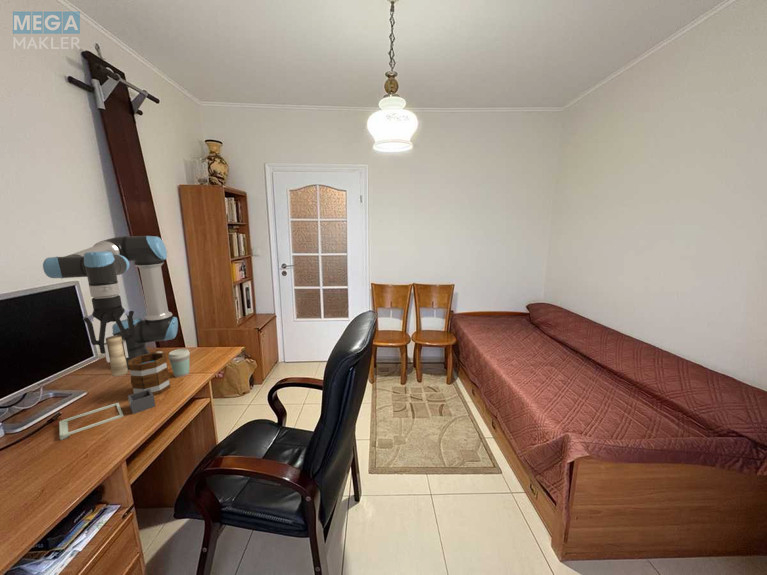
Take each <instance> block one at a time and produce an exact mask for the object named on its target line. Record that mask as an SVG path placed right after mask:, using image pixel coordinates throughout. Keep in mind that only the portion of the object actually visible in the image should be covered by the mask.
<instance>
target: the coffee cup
mask: <svg viewBox="0 0 767 575" xmlns="http://www.w3.org/2000/svg"><path fill="white" fill-rule="evenodd" d="M190 354H191V353H190V351H189V349H188V348H178V349H174V350H171V351H170V352H169V353H168V356H167V359H168V360H169V362H170V363H169V364H170V366H171V370H172V373H173V376H174V377H175V378H181V377H182V378H183V377H185V376H188V375H190Z"/></svg>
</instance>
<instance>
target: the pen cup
mask: <svg viewBox="0 0 767 575" xmlns="http://www.w3.org/2000/svg"><path fill="white" fill-rule="evenodd" d="M127 398H128V403H129V404H128V405H129V408H130V410H131V411H130V412H131V413H132V415H134V414H137V413H141V412H143V411H147V410H149V409H151V408H155V407H156V402H155V400H156V399H155V396H154V395H153V393H152V392H151V390H150V389H148V390H145V391H141V392H138V393H135V394H134V393H133V394H129V395H127Z"/></svg>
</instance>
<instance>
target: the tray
mask: <svg viewBox="0 0 767 575" xmlns="http://www.w3.org/2000/svg"><path fill="white" fill-rule="evenodd" d="M112 407H116V408H117V411H118V414H117V415H115V416H113V417H110V418H109V417H108V418H106V419H104V420H100V421H98V422H97V421H96V422H95V423H91V424H89V425H86V426H84V427H80V428H77V429H74V430H71V431H69V421H72V420H75V419H78V418H81V417H84V416H88V415H91V414H94V413H97V412H101V411H103V410H106V409H109V408H112ZM122 417H124V413H123V410H122V409H121V405H120V403H119V402H115V403H113V404H109V405H105V406H103V407H99V408H96V409H93V410H90V411H87V412H84V413H81V414H77V415H74V416H71V417H68V418H64V419H62V420H58V422H59V423H58V424H59V439H60V441H63V440H65V439H68V438H70V435H73V434H76V433H78V432H81V431H86V430H88V429H91V428H93V427H96V426H99V425H103V424H105V423H108V422H111V421H114V420H117V419H120V418H122Z"/></svg>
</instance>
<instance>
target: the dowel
mask: <svg viewBox="0 0 767 575" xmlns="http://www.w3.org/2000/svg"><path fill="white" fill-rule="evenodd" d="M105 343H106V344H107V347H108V352H109V357H110V362H109V364H110V371H111V375H112V377H121V376H124V375H126V374H128V373H129V369H128V368H127V362H126V357H125V352H124V346H123V340H122V336H121V335H116V336H113V335H111V336H108V337H105Z"/></svg>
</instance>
